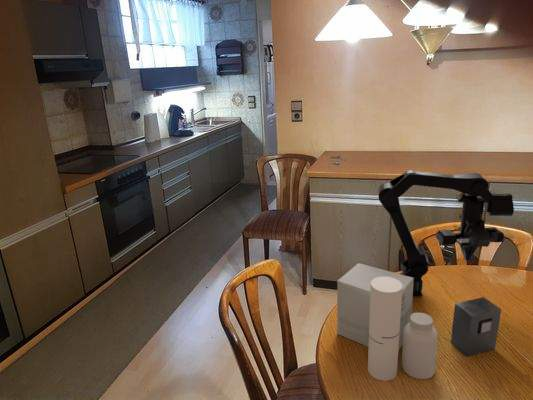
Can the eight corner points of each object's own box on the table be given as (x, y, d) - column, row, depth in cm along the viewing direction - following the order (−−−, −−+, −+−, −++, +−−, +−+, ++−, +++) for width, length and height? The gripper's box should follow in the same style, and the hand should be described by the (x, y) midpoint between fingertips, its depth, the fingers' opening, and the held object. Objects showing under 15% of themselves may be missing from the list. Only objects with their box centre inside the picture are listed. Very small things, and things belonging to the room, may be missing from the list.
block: (450, 342, 109) (455, 303, 105) (478, 335, 111) (483, 297, 107) (466, 356, 103) (471, 316, 99) (495, 349, 105) (501, 309, 101)
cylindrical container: (398, 382, 96) (404, 293, 88) (368, 379, 98) (371, 291, 90) (395, 361, 103) (400, 277, 95) (367, 359, 104) (370, 275, 96)
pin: (454, 319, 109) (456, 303, 107) (470, 315, 110) (472, 299, 108) (476, 337, 101) (478, 320, 100) (493, 333, 102) (496, 316, 101)
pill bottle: (407, 353, 106) (411, 305, 101) (439, 366, 101) (444, 316, 96) (396, 371, 100) (399, 321, 95) (428, 385, 95) (433, 333, 90)
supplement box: (411, 332, 114) (415, 277, 108) (393, 359, 104) (396, 299, 98) (357, 312, 124) (358, 261, 119) (335, 334, 115) (335, 280, 109)
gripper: (453, 226, 113) (448, 274, 118) (518, 222, 113) (511, 271, 118) (437, 212, 124) (433, 257, 129) (497, 209, 123) (491, 254, 128)
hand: (466, 260), depth 125 cm, fingers closed
